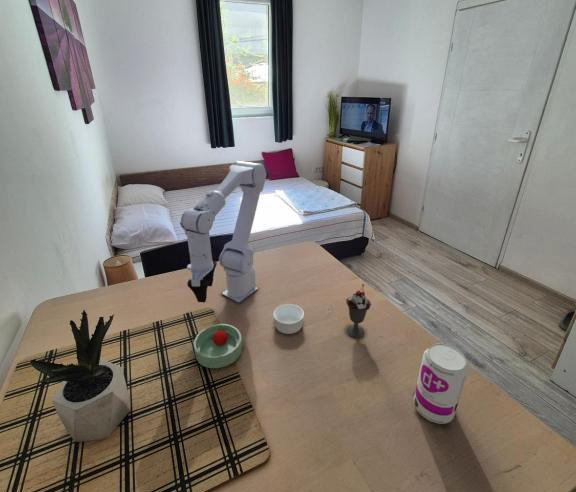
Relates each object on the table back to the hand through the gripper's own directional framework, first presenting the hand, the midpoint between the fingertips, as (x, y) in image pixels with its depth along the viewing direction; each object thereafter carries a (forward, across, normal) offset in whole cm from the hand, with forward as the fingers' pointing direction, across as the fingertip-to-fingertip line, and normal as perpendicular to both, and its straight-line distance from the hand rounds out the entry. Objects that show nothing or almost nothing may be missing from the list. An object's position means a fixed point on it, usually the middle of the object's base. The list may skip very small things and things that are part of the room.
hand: (205, 293), depth 94 cm
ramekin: (+10, +2, +24) cm, 26 cm away
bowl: (+9, +13, +6) cm, 17 cm away
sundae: (+10, +5, +43) cm, 44 cm away
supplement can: (+10, +28, +56) cm, 63 cm away
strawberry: (+8, +12, +6) cm, 15 cm away
